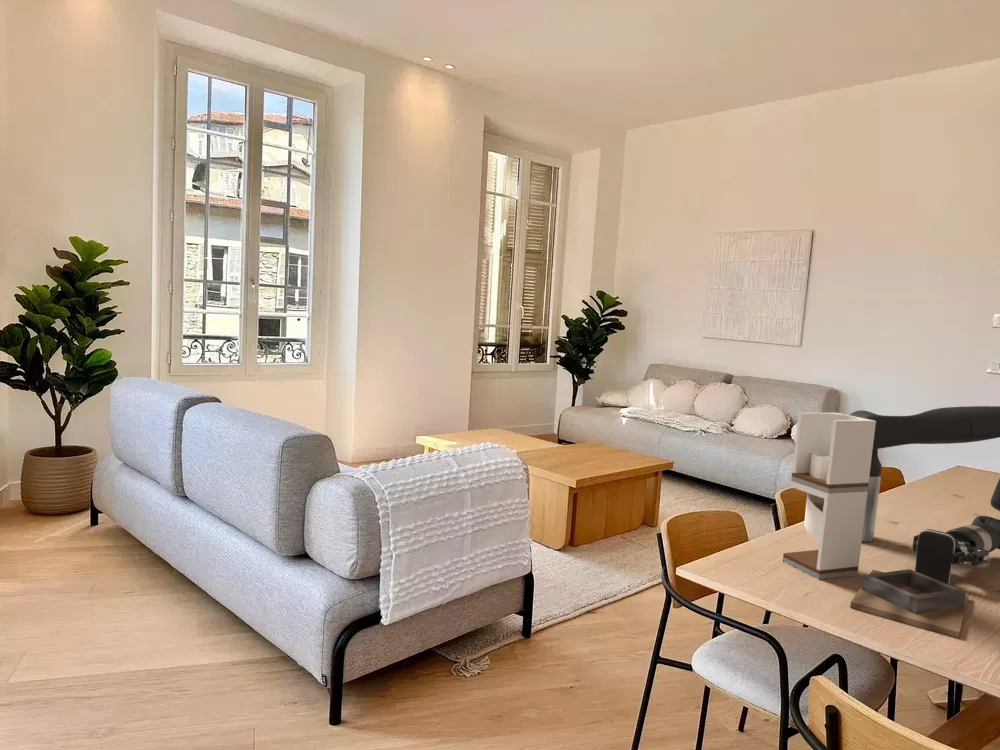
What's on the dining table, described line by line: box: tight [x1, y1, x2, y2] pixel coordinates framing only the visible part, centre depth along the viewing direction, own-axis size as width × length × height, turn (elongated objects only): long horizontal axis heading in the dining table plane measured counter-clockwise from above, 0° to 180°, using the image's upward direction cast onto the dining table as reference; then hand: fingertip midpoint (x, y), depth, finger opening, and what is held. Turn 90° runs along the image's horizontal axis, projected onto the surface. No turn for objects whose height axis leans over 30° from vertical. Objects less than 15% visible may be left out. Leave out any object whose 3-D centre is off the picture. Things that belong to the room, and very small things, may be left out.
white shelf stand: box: [782, 412, 876, 580], centre depth 157 cm, size 11×11×35 cm
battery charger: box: [914, 528, 956, 585], centre depth 154 cm, size 7×4×11 cm, turn 47°
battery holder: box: [849, 568, 970, 639], centre depth 141 cm, size 18×24×4 cm
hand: (934, 553), depth 153 cm, fingers closed on battery charger, 7 cm apart
